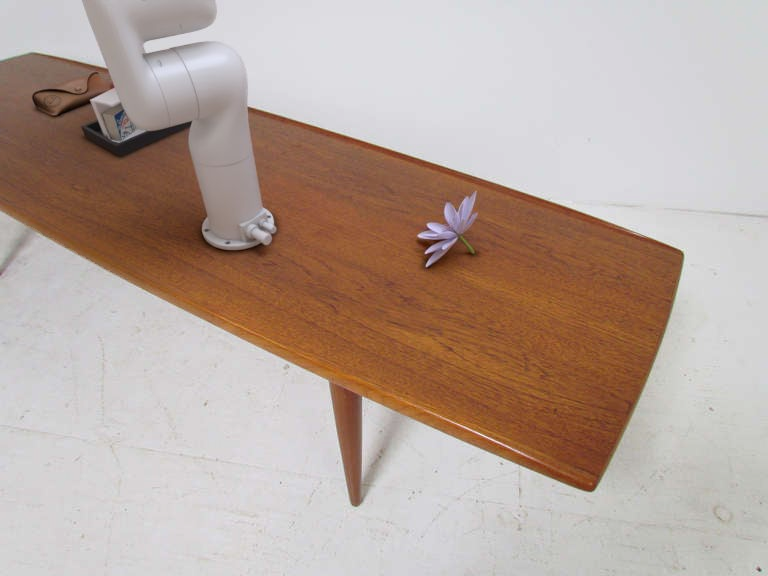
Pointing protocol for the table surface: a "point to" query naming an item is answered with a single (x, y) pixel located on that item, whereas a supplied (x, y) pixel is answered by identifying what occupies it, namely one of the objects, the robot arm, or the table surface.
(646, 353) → the table surface
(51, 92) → the sunglasses case
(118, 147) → the tray
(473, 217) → the water lily
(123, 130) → the cigarette display
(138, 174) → the table surface
